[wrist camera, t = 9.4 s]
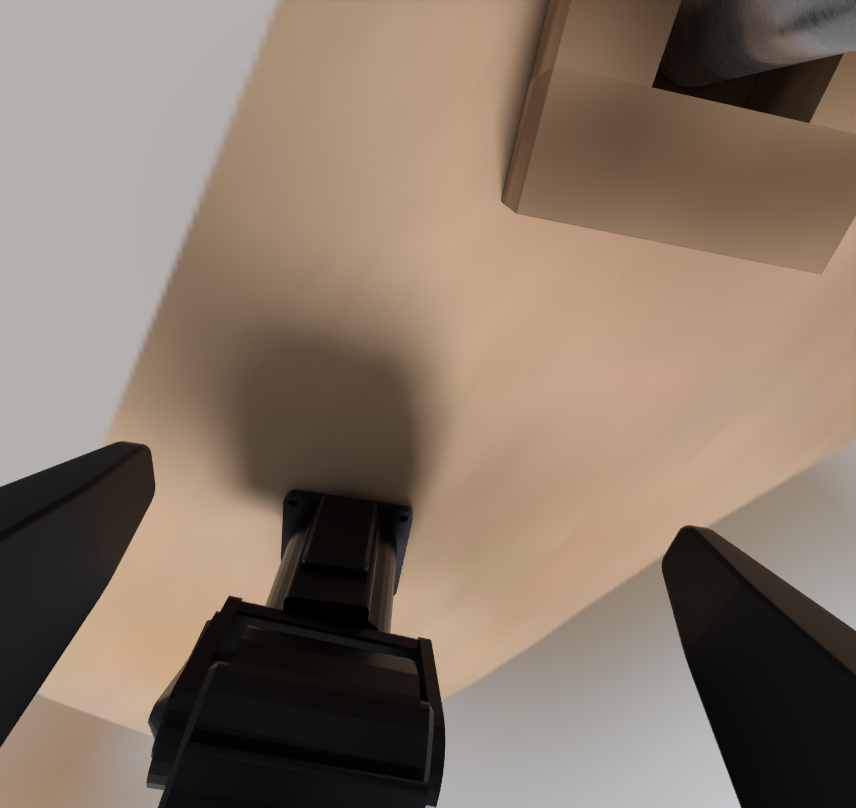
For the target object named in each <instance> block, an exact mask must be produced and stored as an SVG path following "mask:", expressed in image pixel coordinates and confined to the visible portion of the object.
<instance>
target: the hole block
mask: <svg viewBox="0 0 856 808" xmlns="http://www.w3.org/2000/svg"><path fill="white" fill-rule="evenodd" d="M680 3H681V0H549V4H548V8H547V12H546V16H545V20H544V25H543V29H542V33H541V37H540V41H539V46H538V50H537V54H536V58H535V62H534V67H533V71H532V75H531V79H530V83H529V88H528V92H527V96H526V100H525V104H524V109H523V113H522V117H521V121H520V125H519V130H518V134H517V138H516V142H515V146H514V151H513V155H512V159H511V163H510V167H509V172H508V176H507V180H506V184H505V188H504V193H503V197H502V201H501V202H502V203H504V204H505V205H506V206H507V207H509V208H510V209H511V210H512V211H514V212H515V213H516V214H521V215H526V216H531V217H536V218H541V219H546V220H551V221H556V222H561V223H566V224H571V225H576V226H581V227H586V228H591V229H596V230H601V231H606V232H611V233H616V234H621V235H626V236H631V237H636V238H641V239H646V240H651V241H656V242H661V243H666V244H671V245H676V246H681V247H686V248H691V249H696V250H701V251H706V252H711V253H716V254H721V255H726V256H731V257H736V258H741V259H746V260H751V261H756V262H761V263H766V264H771V265H776V266H781V267H786V268H791V269H796V270H801V271H806V272H811V273H816V274H822V273H823V271H824V269H825V267H826V266H827V264H828V262H829V261H830V259H831V257H832V255H833V254H834V252H835V250H836V249H837V247H838V245H839V243H840V242H841V240H842V238H843V237H844V235H845V233H846V231H847V230H848V228H849V226H850V225H851V223H852V221H853V219H854V218H855V216H856V51H851V52H847V53H843V54H838V55H834V56H829V57H825V58H821V59H816V60H812V61H807V62H803V63H799V64H794V65H790V66H786V67H781V68H777V69H772V70H768V71H764V72H761V73H760V75H759V77H758V80H757V82H756V84H755V87H754V89H753V91H752V94H751V96H750V98H749V101H748V103H747V105H746V107H745V108H740V107H736V106H732V105H727V104H723V103H718V102H714V101H710V100H705V99H701V98H696V97H692V96H688V95H683V94H679V93H675V92H670V91H666V90H661V89H657V88H653V87H652V85H653V82H654V79H655V76H656V73H657V70H658V67H659V64H660V61H661V58H662V56H663V53H664V50H665V47H666V44H667V41H668V38H669V35H670V32H671V29H672V26H673V24H674V21H675V18H676V15H677V12H678V9H679V6H680Z"/></svg>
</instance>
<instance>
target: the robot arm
mask: <svg viewBox="0 0 856 808" xmlns="http://www.w3.org/2000/svg"><path fill="white" fill-rule="evenodd" d="M154 493H155V478H154V471H153V463H152V455H151V451H150V449H149V447H148V446H146V445H144V444H138V443H132V442H125V441H120V442H116V443H113V444H111V445H108V446H105V447H103V448H100V449H98V450H95V451H92V452H90V453H87V454H85V455H82V456H80V457H77V458H74V459H72V460H69V461H67V462H64V463H61V464H59V465H56V466H53V467H51V468H48V469H46V470H43V471H41V472H38V473H36V474H33V475H30V476H27V477H25V478H22V479H20V480H17V481H14V482H12V483H9V484H7V485H4V486H1V487H0V747H1V746H2V744H3V743H4V741H5V740H6V738H7V736H8V735H9V734H10V732H11V731H12V729H13V727H14V726H15V725H16V723H17V722H18V720H19V719H20V717H21V716H22V714H23V712H24V711H25V710H26V708H27V706H28V705H29V703H30V702H31V700H32V699H33V697H34V696H35V694H36V693H37V691H38V690H39V688H40V687H41V685H42V684H43V682H44V681H45V679H46V678H47V676H48V675H49V673H50V672H51V670H52V669H53V667H54V666H55V664H56V663H57V661H58V660H59V658H60V657H61V655H62V654H63V652H64V651H65V649H66V648H67V646H68V645H69V643H70V642H71V640H72V639H73V637H74V636H75V634H76V633H77V631H78V630H79V628H80V627H81V625H82V624H83V622H84V621H85V619H86V618H87V616H88V615H89V613H90V612H91V610H92V609H93V607H94V606H95V604H96V602H97V601H98V599H99V598H100V596H101V595H102V593H103V591H104V590H105V588H106V587H107V585H108V583H109V581H110V580H111V578H112V576H113V574H114V573H115V571H116V569H117V567H118V565H119V563H120V561H121V559H122V557H123V555H124V553H125V551H126V550H127V548H128V546H129V544H130V542H131V540H132V538H133V536H134V534H135V532H136V530H137V528H138V526H139V524H140V523H141V521H142V519H143V517H144V515H145V513H146V511H147V509H148V507H149V505H150V503H151V501H152V499H153V496H154ZM292 499H295V500H297V501H298V502H295V501H293V500H292ZM400 515H406V516H405V517H401V516H400ZM412 518H413V512H412V510H411V509H410V508H409V507H407V506H402V505H395V504H389V503H382V502H375V501H368V500H361V499H354V498H347V497H340V496H333V495H326V494H320V493H313V492H306V491H299V490H291V491H289V492H288V493H287V494H286V496H285V499H284V502H283V526H282V549H281V564H280V567H279V569H278V572H277V575H276V578H275V580H274V583H273V586H272V589H271V591H270V594H269V597H268V600H267V602H266V605H265V606H263V605H259V604H254V603H249V602H245V601H242V598H238V597H233V596H229V597H228V599H227V600H226V602H225V604H224V606H223V608H222V609H221V611H220V612H218V611H216V613H215V615H214V616H213V618H212V619H211V620H209V621H207V622H206V624H205V626H204V628H203V630H202V632H201V634H200V637H199V639H198V641H197V643H196V645H195V647H194V649H193V651H192V653H191V655H190V656H189V658H188V660H187V661H186V663H185V664H184V666H183V667H182V668H181V670H180V671H179V672H178V674H177V675H176V676H175V678H174V679H173V680H172V682H171V683H170V684H169V686H168V687H167V688H166V690H165V691H164V692H163V694H162V695H161V696H160V698H159V699H158V700H157V702H156V703H155V705H154V707H153V709H152V712H151V714H150V717H149V720H148V724H149V726H150V729H151V732H152V734H153V737H154V740H155V741H154V745H153V749H152V755H151V757H152V761H151V765H150V768H149V772H148V777H147V787H148V788H154V789H161V790H164V792H163V795H162V798H161V801H160V803H159V806H158V808H436V806H437V802H438V797H439V793H440V788H441V783H442V777H443V768H444V759H445V723H444V715H443V709H442V703H441V697H440V691H439V685H438V679H437V673H436V667H435V661H434V655H433V649H432V643H431V640H430V639H425V638H421V637H418V639H415V638H410V637H405V636H401V635H396V634H392V633H390V629H391V617H392V605H393V596H394V595H395V594H396V592H397V588H398V583H399V578H400V574H401V569H402V565H403V560H404V556H405V551H406V547H407V542H408V538H409V533H410V528H411V524H412ZM662 573H663V577H664V580H665V584H666V588H667V591H668V595H669V599H670V603H671V606H672V610H673V614H674V617H675V621H676V625H677V629H678V632H679V636H680V640H681V644H682V647H683V650H684V654H685V657H686V660H687V663H688V666H689V669H690V672H691V674H692V677H693V680H694V683H695V685H696V688H697V691H698V693H699V696H700V699H701V701H702V704H703V707H704V709H705V712H706V715H707V717H708V720H709V723H710V725H711V728H712V731H713V733H714V736H715V739H716V742H717V744H718V747H719V750H720V752H721V755H722V758H723V760H724V763H725V766H726V768H727V771H728V774H729V777H730V779H731V782H732V785H733V787H734V790H735V793H736V795H737V798H738V801H739V803H740V806H741V808H856V631H855V630H854V629H852V628H851V627H850V626H848V625H847V624H845V623H844V622H842V621H841V620H840V619H838V618H837V617H835V616H834V615H832V614H831V613H830V612H828V611H827V610H825V609H824V608H823V607H821V606H820V605H818V604H817V603H815V602H814V601H812V600H811V599H810V598H808V597H807V596H805V595H804V594H803V593H801V592H800V591H798V590H797V589H795V588H794V587H792V586H791V585H790V584H788V583H787V582H785V581H784V580H782V579H781V578H780V577H778V576H777V575H775V574H774V573H773V572H771V571H770V570H768V569H767V568H765V567H764V566H763V565H761V564H760V563H758V562H757V561H755V560H754V559H752V558H751V557H750V556H748V555H747V554H746V553H744V552H743V551H741V550H740V549H738V548H737V547H735V546H734V545H733V544H731V543H730V542H728V541H727V540H725V539H724V538H723V537H721V536H720V535H718V534H717V533H716V532H714V531H713V530H711V529H708V528H704V527H697V526H691V525H687V526H684V527H682V528H681V529H680V530H679V532H678V533H677V535H676V537H675V538H674V540H673V542H672V543H671V545H670V547H669V548H668V550H667V552H666V554H665V555H664V557H663V561H662Z"/></svg>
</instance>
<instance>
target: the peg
mask: <svg viewBox="0 0 856 808" xmlns="http://www.w3.org/2000/svg"><path fill="white" fill-rule="evenodd" d="M851 51H856V0H681V3H680V6H679V9H678V12H677V15H676V18H675V21H674V24H673V26H672V29H671V32H670V35H669V38H668V41H667V44H666V47H665V50H664V53H663V56H662V58H661V61H660V64H659V66H660V69H661V70H662V72H663V73H664V75H665V76H666V77H667V78H668V79H669V80H671V81H672V82H674V83H676V84H677V85H681V86H685V87H697V86H702V85H707V84H711V83H715V82H720V81H724V80H729V79H733V78H737V77H742V76H746V75H751V74H755V73H759V72H764V71H768V70H772V69H777V68H781V67H786V66H790V65H794V64H799V63H803V62H807V61H812V60H816V59H821V58H825V57H829V56H834V55H838V54H843V53H847V52H851Z"/></svg>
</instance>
